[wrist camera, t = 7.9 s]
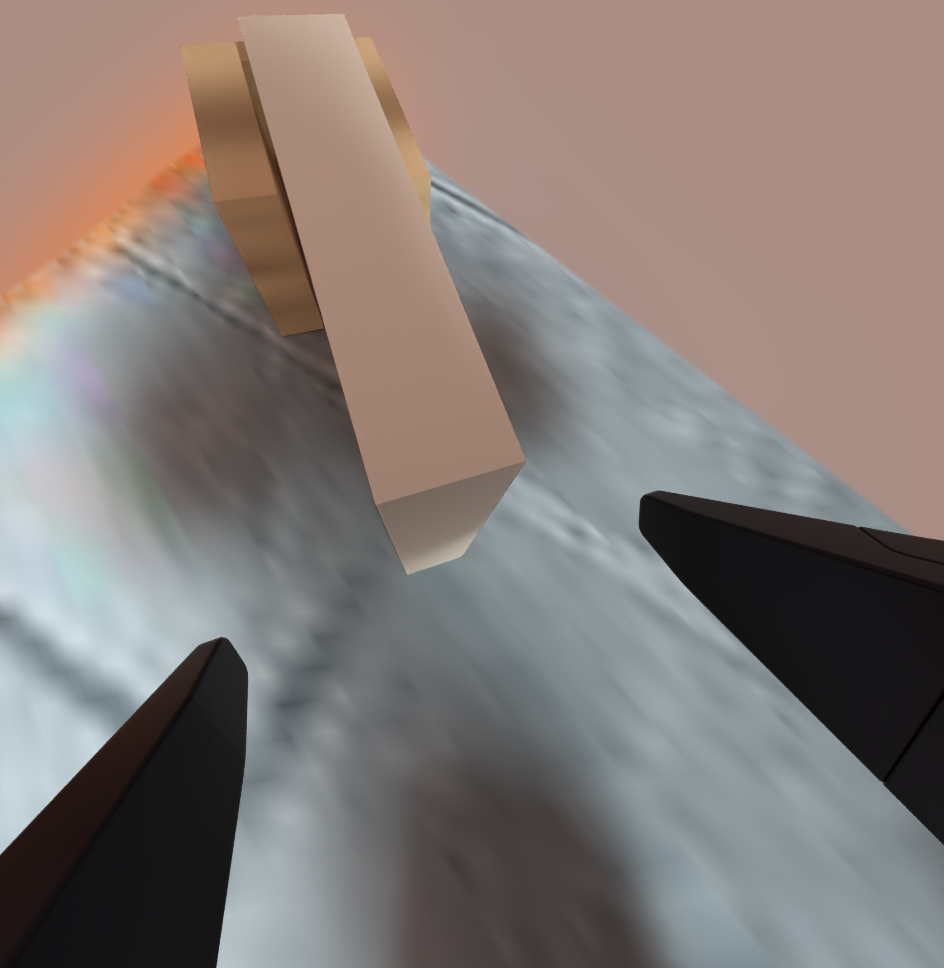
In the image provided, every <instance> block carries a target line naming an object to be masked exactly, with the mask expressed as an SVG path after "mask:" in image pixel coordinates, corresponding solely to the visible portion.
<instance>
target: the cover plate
mask: <svg viewBox="0 0 944 968" xmlns="http://www.w3.org/2000/svg"><path fill="white" fill-rule="evenodd" d="M237 19H238V22H239V26H240V29H241V33H242V36H243V40H244V44H245V47H246V51H247V54H248V58H249V61H250V65H251V68H252V72H253V75H254V79H255V82H256V86H257V89H258V93H259V96H260V100H261V103H262V107H263V110H264V114H265V118H266V121H267V125H268V128H269V132H270V135H271V139H272V142H273V146H274V149H275V153H276V156H277V160H278V163H279V167H280V170H281V174H282V177H283V181H284V184H285V188H286V191H287V195H288V199H289V202H290V206H291V209H292V213H293V216H294V220H295V223H296V227H297V230H298V234H299V237H300V241H301V244H302V248H303V251H304V255H305V258H306V262H307V265H308V269H309V272H310V276H311V280H312V283H313V287H314V290H315V294H316V297H317V301H318V304H319V308H320V311H321V315H322V318H323V322H324V325H325V329H326V332H327V336H328V339H329V343H330V346H331V350H332V354H333V357H334V361H335V364H336V368H337V371H338V375H339V378H340V382H341V385H342V389H343V392H344V396H345V399H346V403H347V406H348V410H349V413H350V417H351V420H352V424H353V427H354V431H355V435H356V438H357V442H358V445H359V449H360V452H361V456H362V459H363V463H364V466H365V470H366V473H367V477H368V480H369V484H370V487H371V491H372V494H373V498H374V501H375V505H376V507H377V509H378V512H379V514H380V516H381V518H382V520H383V523H384V525H385V527H386V529H387V532H388V534H389V536H390V538H391V540H392V543H393V545H394V547H395V549H396V551H397V554H398V556H399V558H400V560H401V562H402V565H403V567H404V569H405V571H406V573H407V575H409V574H412V573H415V572H418V571H421V570H424V569H427V568H430V567H433V566H436V565H439V564H442V563H445V562H448V561H451V560H453V559H456V558H459V557H462V556H463V554H464V553H465V551H466V550H467V548H468V547H469V546H470V544H471V543H472V541H473V540H474V538H475V537H476V535H477V534H478V532H479V531H480V529H481V528H482V526H483V525H484V523H485V522H486V520H487V519H488V517H489V516H490V514H491V513H492V511H493V510H494V508H495V507H496V505H497V504H498V502H499V501H500V499H501V498H502V496H503V495H504V494H505V492H506V491H507V489H508V488H509V486H510V485H511V483H512V482H513V480H514V479H515V477H516V476H517V474H518V473H519V471H520V470H521V468H522V467H523V465H524V464H525V462H526V459H525V456H524V454H523V451H522V449H521V446H520V444H519V442H518V439H517V437H516V434H515V432H514V429H513V427H512V424H511V422H510V420H509V417H508V415H507V412H506V410H505V407H504V405H503V402H502V400H501V398H500V395H499V393H498V390H497V388H496V385H495V383H494V380H493V378H492V376H491V373H490V371H489V368H488V366H487V363H486V361H485V358H484V356H483V354H482V351H481V349H480V346H479V344H478V341H477V339H476V336H475V334H474V332H473V329H472V327H471V324H470V322H469V319H468V317H467V314H466V312H465V310H464V307H463V305H462V302H461V300H460V297H459V295H458V292H457V290H456V288H455V285H454V283H453V280H452V278H451V275H450V273H449V270H448V268H447V266H446V263H445V261H444V258H443V256H442V253H441V251H440V248H439V246H438V244H437V241H436V239H435V236H434V234H433V231H432V229H431V226H430V224H429V222H428V219H427V217H426V214H425V212H424V209H423V207H422V204H421V202H420V200H419V197H418V195H417V192H416V190H415V187H414V185H413V182H412V180H411V178H410V175H409V173H408V170H407V168H406V165H405V163H404V161H403V158H402V156H401V153H400V151H399V148H398V146H397V143H396V141H395V139H394V136H393V134H392V131H391V129H390V126H389V124H388V121H387V119H386V117H385V114H384V112H383V109H382V107H381V104H380V102H379V99H378V97H377V95H376V92H375V90H374V87H373V85H372V82H371V80H370V77H369V75H368V73H367V70H366V68H365V65H364V63H363V60H362V58H361V55H360V53H359V51H358V48H357V46H356V43H355V41H354V38H353V36H352V33H351V31H350V29H349V26H348V24H347V21H346V19H345V16H344V14H330V15H286V16H284V15H283V16H238V17H237Z"/></svg>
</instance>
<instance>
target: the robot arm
mask: <svg viewBox="0 0 944 968" xmlns="http://www.w3.org/2000/svg"><path fill="white" fill-rule="evenodd" d="M639 529H640V531H641V533H642V535H643V536H644V537H645V539H646V540H647V541H648V542H649V544H650V545H651V546H652V547H653V548H654V550H655V551H656V552H657V553H658V554H659V556H660V557H661V558H662V559H663V560H664V562H665V563H666V564H667V565H668V567H669V568H670V569H671V570H672V571H673V573H674V574H675V575H676V576H677V577H678V579H679V580H680V581H681V582H682V583H683V584H684V585H685V586H686V587H687V588H688V589H689V591H690V592H691V593H692V594H693V595H694V596H695V597H696V598H697V599H698V600H699V601H700V602H701V603H702V604H703V605H704V606H705V607H706V608H707V609H708V610H709V611H710V612H711V613H712V614H713V615H714V616H715V617H716V618H717V619H718V620H719V621H720V622H721V623H722V624H723V625H724V626H725V627H726V628H727V629H728V630H729V631H730V632H731V633H732V634H733V635H734V636H735V637H736V638H737V639H738V640H739V641H740V642H741V643H742V644H743V645H744V646H745V647H746V648H747V649H748V650H749V651H750V652H751V653H752V654H753V655H754V656H755V657H756V658H757V659H758V660H759V661H760V662H761V663H762V664H763V665H764V666H765V667H766V668H767V669H768V670H769V671H770V672H771V673H772V674H773V675H774V676H775V677H776V678H777V679H778V680H779V681H780V682H781V683H782V684H783V685H784V686H785V687H786V688H787V689H788V690H789V691H790V692H791V693H792V694H793V695H794V696H795V697H796V698H797V699H798V700H799V701H800V702H801V703H802V704H803V705H804V706H805V707H806V708H807V709H808V710H809V711H810V712H811V713H812V714H813V715H814V716H815V717H816V718H817V719H818V720H819V721H820V722H821V723H822V724H824V725H825V726H826V727H827V728H828V729H829V730H830V731H831V732H832V733H833V734H834V735H835V736H836V737H837V738H838V739H839V740H840V741H841V742H842V743H843V744H844V745H845V746H846V747H847V748H848V749H849V750H850V751H851V752H852V753H853V754H854V755H855V756H856V757H857V758H858V759H859V760H860V761H861V762H862V763H863V764H864V765H865V766H866V767H867V768H868V769H869V770H870V771H871V772H872V773H873V774H874V775H875V776H876V777H877V778H878V779H879V780H880V781H881V782H883V785H884V786H885V787H886V788H887V789H888V790H889V791H890V792H891V793H892V794H893V795H894V796H895V797H896V798H897V799H898V800H899V801H900V802H901V803H902V804H903V805H904V806H905V807H906V808H907V809H908V810H909V811H910V812H911V813H912V814H913V815H914V816H915V817H916V818H917V819H918V820H919V821H920V822H921V823H922V824H923V825H924V826H925V827H926V828H927V829H928V830H929V831H930V832H931V833H932V834H933V835H934V836H935V837H936V838H937V839H938V840H939V841H940V842H941V843H942V844H943V845H944V541H942V540H936V539H929V538H923V537H917V536H911V535H905V534H900V533H894V532H888V531H882V530H877V529H871V528H866V527H858V528H857V527H856V526H854V525H848V524H843V523H837V522H832V521H826V520H821V519H815V518H810V517H804V516H799V515H793V514H787V513H782V512H776V511H771V510H765V509H760V508H754V507H749V506H743V505H737V504H732V503H726V502H721V501H715V500H710V499H704V498H699V497H693V496H688V495H682V494H676V493H671V492H665V491H654V492H651V493H648V494H645V495H644V496H642V498H641V500H640V510H639ZM247 701H248V671H247V668H246V665H245V663H244V662H243V660H242V659H241V657H240V656H239V654H238V653H237V651H236V650H235V648H234V647H233V645H232V644H231V642H230V641H229V640H228V639H227V638H224V637H220V638H217V639H214V640H211V641H208V642H205V643H203V644H200V645H199V646H197V647H196V648H195V649H194V650H193V652H192V653H191V654H190V655H189V656H188V657H187V658H186V659H185V660H184V661H183V662H182V663H181V664H180V665H179V666H178V667H177V668H176V670H175V671H174V672H173V673H172V674H171V675H170V676H169V677H168V678H167V679H166V680H165V681H164V682H163V683H162V684H161V685H160V686H159V687H158V689H157V690H156V691H155V692H154V693H153V694H152V695H151V696H150V697H149V698H148V699H147V700H146V701H145V702H144V703H143V704H142V705H141V707H140V708H139V709H138V710H137V711H136V712H135V713H134V714H133V715H132V716H131V717H130V718H129V719H128V720H127V721H126V722H125V723H124V725H123V726H122V727H121V728H120V729H119V730H118V731H117V732H116V733H115V734H114V735H113V736H112V737H111V738H110V739H109V740H108V741H107V742H106V744H105V745H104V746H103V747H102V748H101V749H100V750H99V751H98V752H97V753H96V754H95V755H94V756H93V757H92V758H91V759H90V760H89V761H88V763H87V764H86V765H85V766H84V767H83V768H82V769H81V770H80V771H79V772H78V773H77V774H76V775H75V776H74V777H73V778H72V779H71V781H70V782H69V783H68V784H67V785H66V786H65V787H64V788H63V789H62V790H61V791H60V792H59V793H58V794H57V795H56V796H55V797H54V798H53V800H52V801H51V802H50V803H49V804H48V805H47V806H46V807H45V808H44V809H43V810H42V811H41V812H40V813H39V814H38V815H37V816H36V817H35V819H34V820H33V821H32V822H31V823H30V824H29V825H28V826H27V827H26V828H25V829H24V830H23V831H22V832H21V833H20V834H19V835H18V837H17V838H16V839H15V840H14V841H13V842H12V843H11V844H10V845H9V846H8V847H7V848H6V849H5V850H4V851H3V852H2V853H1V854H0V968H216V966H217V959H218V952H219V945H220V938H221V931H222V924H223V917H224V910H225V903H226V896H227V889H228V882H229V875H230V868H231V861H232V854H233V847H234V840H235V833H236V826H237V818H238V811H239V804H240V797H241V790H242V783H243V776H244V768H245V757H246V734H247Z"/></svg>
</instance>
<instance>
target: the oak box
mask: <svg viewBox="0 0 944 968" xmlns="http://www.w3.org/2000/svg"><path fill="white" fill-rule="evenodd" d="M354 41H355V43H356V46H357V48H358V51H359V53H360V55H361V58H362V60H363V63H364V65H365V68H366V70H367V73H368V75H369V77H370V80H371V82H372V85H373V87H374V90H375V92H376V95H377V97H378V99H379V102H380V104H381V107H382V109H383V112H384V114H385V117H386V119H387V121H388V124H389V126H390V129H391V131H392V134H393V136H394V139H395V141H396V143H397V146H398V148H399V151H400V153H401V156H402V158H403V161H404V163H405V165H406V168H407V170H408V173H409V175H410V178H411V180H412V182H413V185H414V187H415V190H416V192H417V195H418V197H419V200H420V202H421V204H422V207H423V209H424V212H425V214H426V217H427V219H428V222H429V224H430V198H431V176H430V174H429V171H428V169H427V167H426V164H425V162H424V160H423V157H422V155H421V153H420V150H419V148H418V146H417V144H416V141H415V139H414V136H413V134H412V132H411V129H410V127H409V125H408V123H407V120H406V118H405V115H404V113H403V111H402V108H401V106H400V104H399V101H398V99H397V97H396V94H395V92H394V90H393V88H392V85H391V83H390V81H389V78H388V76H387V74H386V71H385V69H384V67H383V64H382V62H381V60H380V57H379V55H378V53H377V50H376V48H375V46H374V43H373V41H372V39H371V37H365V38H364V37H363V38H354ZM180 47H181V51H182V56H183V61H184V66H185V70H186V75H187V80H188V85H189V89H190V94H191V99H192V103H193V108H194V113H195V118H196V122H197V127H198V131H199V137H200V141H201V146H202V151H203V156H204V160H205V165H206V170H207V175H208V179H209V184H210V189H211V193H212V198H213V202H214V204H215V206H216V208H217V210H218V212H219V214H220V216H221V218H222V220H223V222H224V224H225V226H226V228H227V230H228V231H229V233H230V235H231V237H232V239H233V241H234V243H235V245H236V247H237V249H238V251H239V253H240V255H241V257H242V259H243V261H244V263H245V265H246V266H247V268H248V270H249V272H250V274H251V276H252V278H253V280H254V282H255V284H256V286H257V288H258V290H259V292H260V294H261V296H262V298H263V300H264V302H265V303H266V305H267V307H268V309H269V311H270V313H271V315H272V317H273V319H274V321H275V323H276V325H277V327H278V329H279V331H280V333H281V335H282V336H288V335H293V334H298V333H303V332H309V331H314V330H319V329H324V325H323V322H322V318H321V315H320V311H319V308H318V304H317V301H316V297H315V294H314V290H313V287H312V283H311V280H310V276H309V272H308V269H307V265H306V262H305V258H304V255H303V251H302V248H301V244H300V241H299V237H298V234H297V230H296V227H295V223H294V221H295V220H294V216H293V213H292V209H291V206H290V202H289V199H288V195H287V191H286V188H285V184H284V181H283V177H282V174H281V170H280V167H279V163H278V160H277V156H276V153H275V149H274V146H273V142H272V139H271V135H270V132H269V128H268V125H267V121H266V118H265V114H264V110H263V107H262V103H261V100H260V96H259V93H258V89H257V86H256V82H255V79H254V75H253V72H252V68H251V65H250V61H249V58H248V54H247V51H246V47H245V44H244V42H224V43H193V44H180Z"/></svg>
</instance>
